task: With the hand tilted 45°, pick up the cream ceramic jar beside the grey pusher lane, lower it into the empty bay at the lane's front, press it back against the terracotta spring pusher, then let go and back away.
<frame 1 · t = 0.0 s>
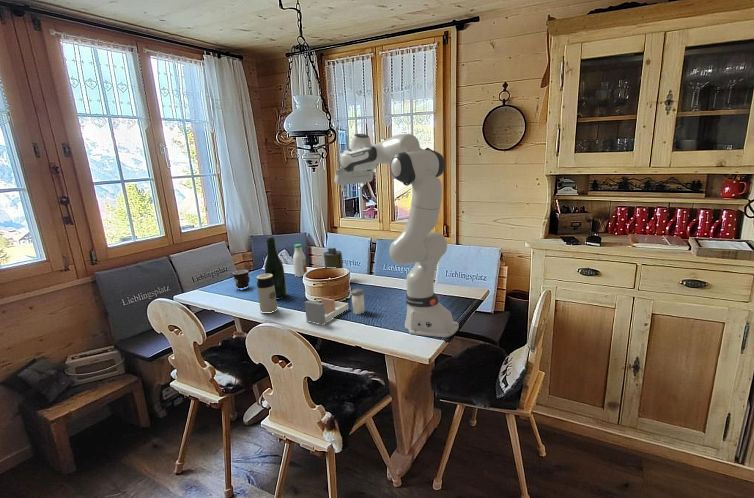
hand: (351, 190, 206), 54 cm above the table, tool tilted 30°, fingers open, 8 cm apart
milk bottle: (301, 275, 253), on the table
canister: (335, 281, 237), on the table
travel mug: (269, 311, 198), on the table
coffee mug: (243, 289, 234), on the table
jar: (358, 312, 189), on the table
spring pusher: (328, 306, 187), point 4 cm above the table, slide at 0.0 cm
wine bottle: (277, 297, 217), on the table
pusher lane: (328, 315, 188), on the table
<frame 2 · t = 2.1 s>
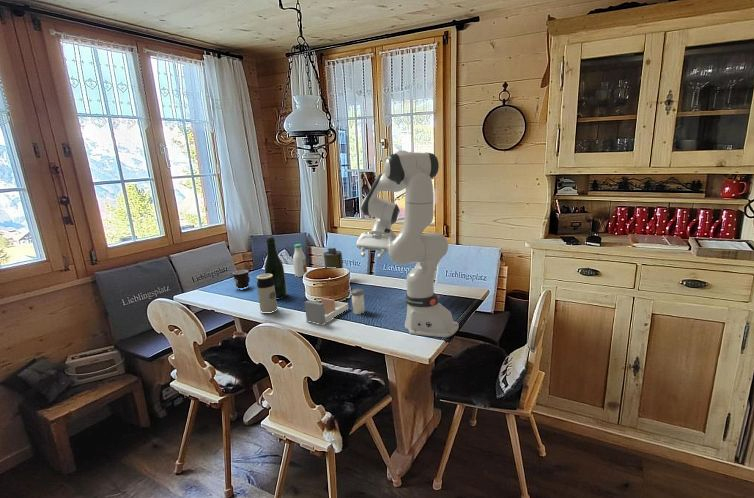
hand: (370, 257, 195), 23 cm above the table, tool tilted 45°, fingers open, 8 cm apart
nothing on the table moved.
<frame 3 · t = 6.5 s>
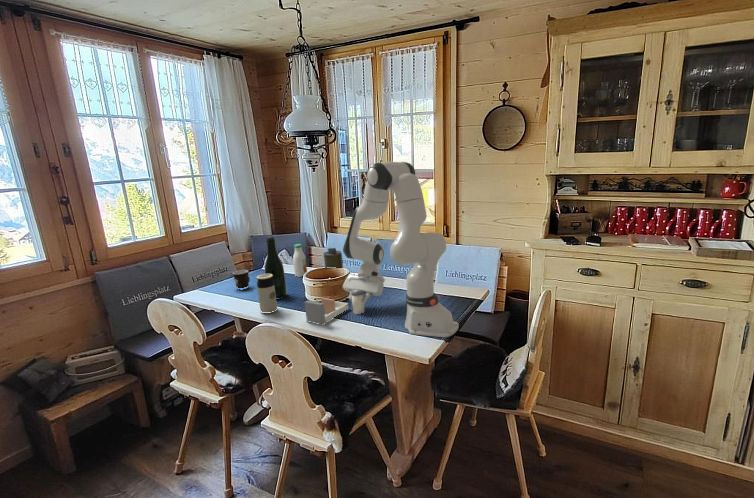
hand: (357, 301, 188), 6 cm above the table, tool tilted 45°, fingers closed on jar, 5 cm apart
jar: (358, 312, 189), on the table, touching gripper
everything else where it was.
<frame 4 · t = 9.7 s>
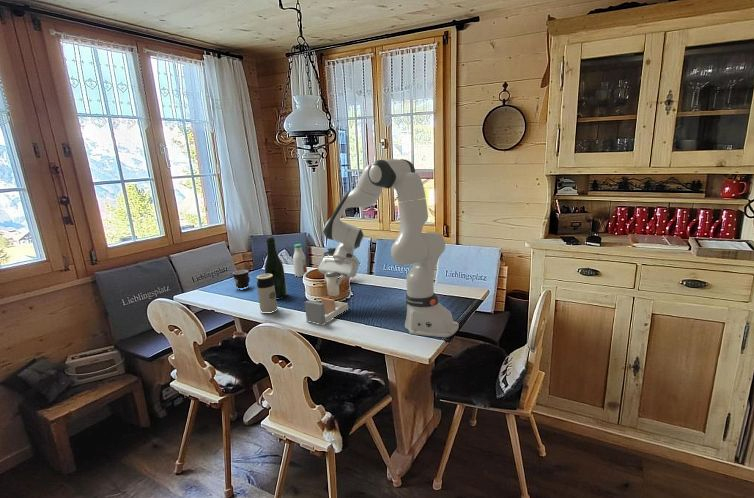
hand: (331, 282, 188), 14 cm above the table, tool tilted 45°, fingers closed on jar, 5 cm apart
jar: (333, 293, 190), point 9 cm above the table, touching gripper
everything else where it was.
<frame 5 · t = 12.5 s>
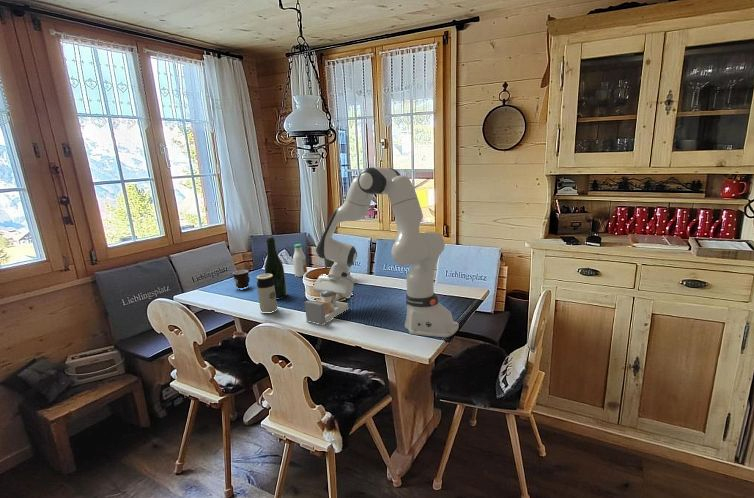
hand: (326, 302, 186), 7 cm above the table, tool tilted 45°, fingers closed on jar, 5 cm apart
jar: (328, 313, 188), point 1 cm above the table, touching gripper, spring pusher
spring pusher: (323, 308, 184), point 4 cm above the table, slide at 3.5 cm, touching jar
everything else where it was.
when the fingers open (7 cm above the table, at t = 13.4 s): jar stays where it is, resting on pusher lane, spring pusher.
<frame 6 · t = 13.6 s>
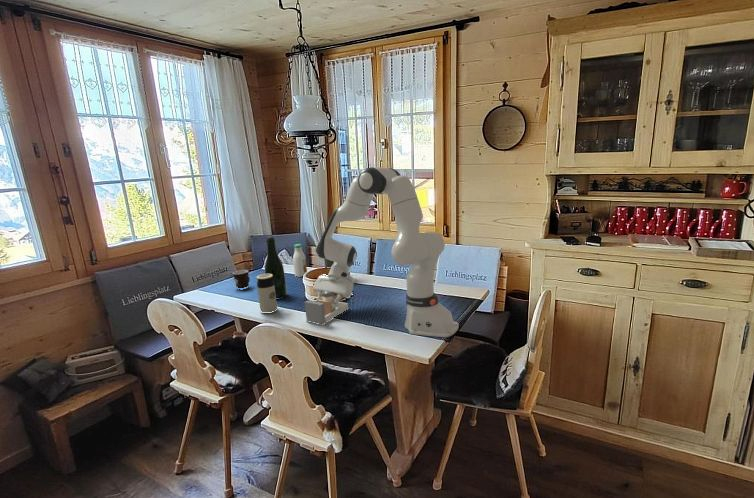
hand: (326, 302, 186), 7 cm above the table, tool tilted 45°, fingers open, 8 cm apart
jar: (330, 313, 189), point 1 cm above the table, touching pusher lane, spring pusher
spring pusher: (324, 308, 185), point 4 cm above the table, slide at 2.6 cm, touching jar
everything else where it was.
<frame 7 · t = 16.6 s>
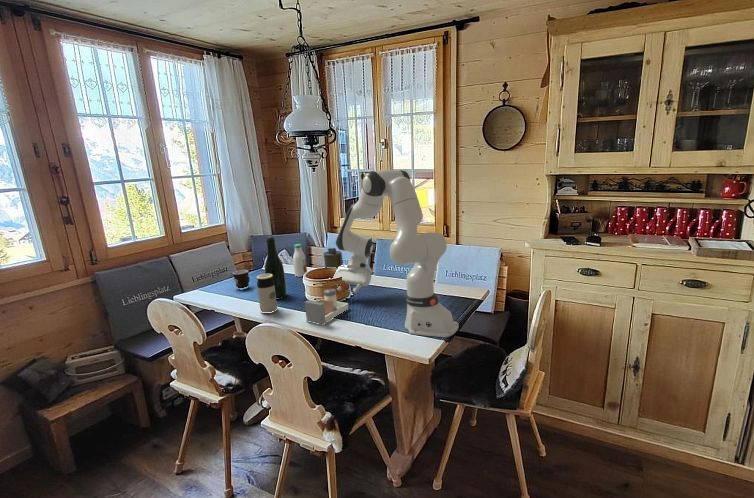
hand: (346, 291, 199), 7 cm above the table, tool tilted 45°, fingers open, 8 cm apart
jar: (331, 312, 190), point 1 cm above the table, touching pusher lane, spring pusher
spring pusher: (326, 307, 186), point 4 cm above the table, slide at 1.2 cm, touching jar
everything else where it was.
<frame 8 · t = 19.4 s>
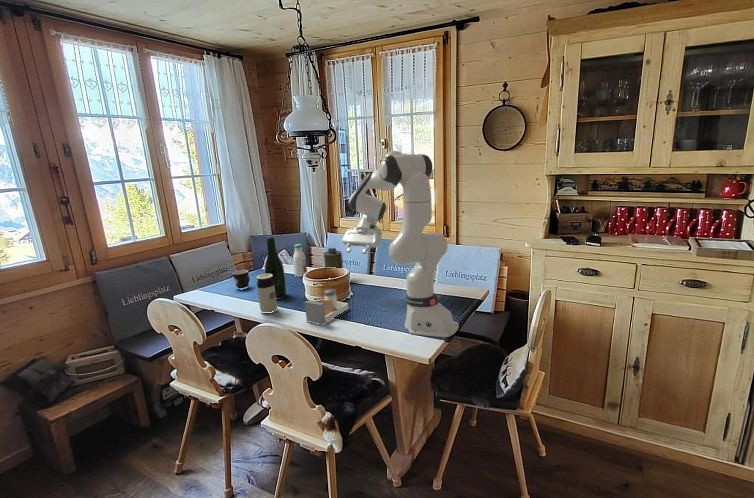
hand: (356, 252, 196), 25 cm above the table, tool tilted 45°, fingers open, 8 cm apart
nothing on the table moved.
at the end: jar 0.7 cm from the target spot on the pusher lane, point 0.6 cm above the pusher lane's base; jar tilted 0°; the gripper is holding nothing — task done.
